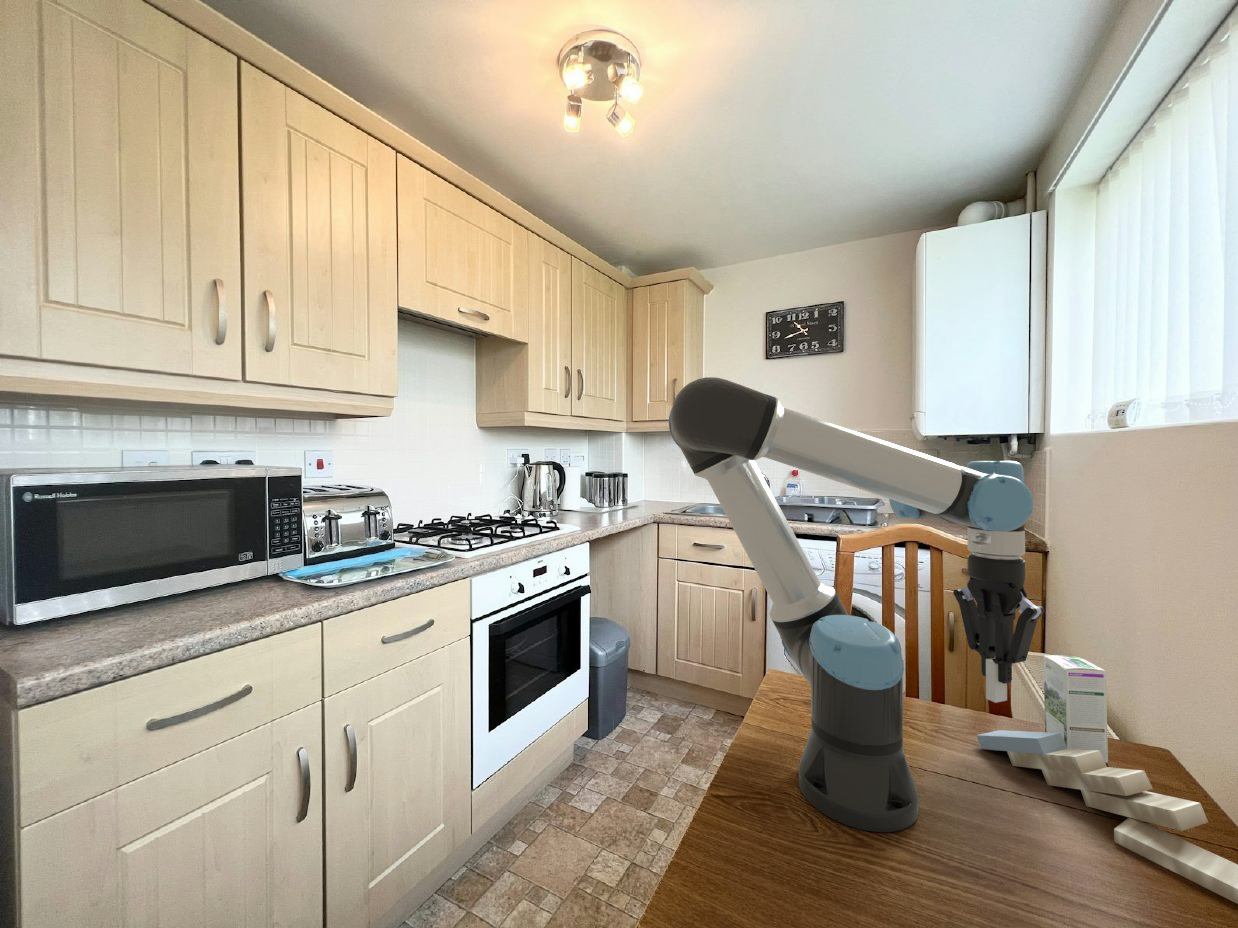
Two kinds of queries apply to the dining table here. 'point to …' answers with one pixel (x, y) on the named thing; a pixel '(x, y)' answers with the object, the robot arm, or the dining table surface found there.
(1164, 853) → the domino
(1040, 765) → the domino
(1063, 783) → the domino
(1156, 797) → the domino
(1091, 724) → the syrup box
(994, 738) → the domino
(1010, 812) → the dining table surface
